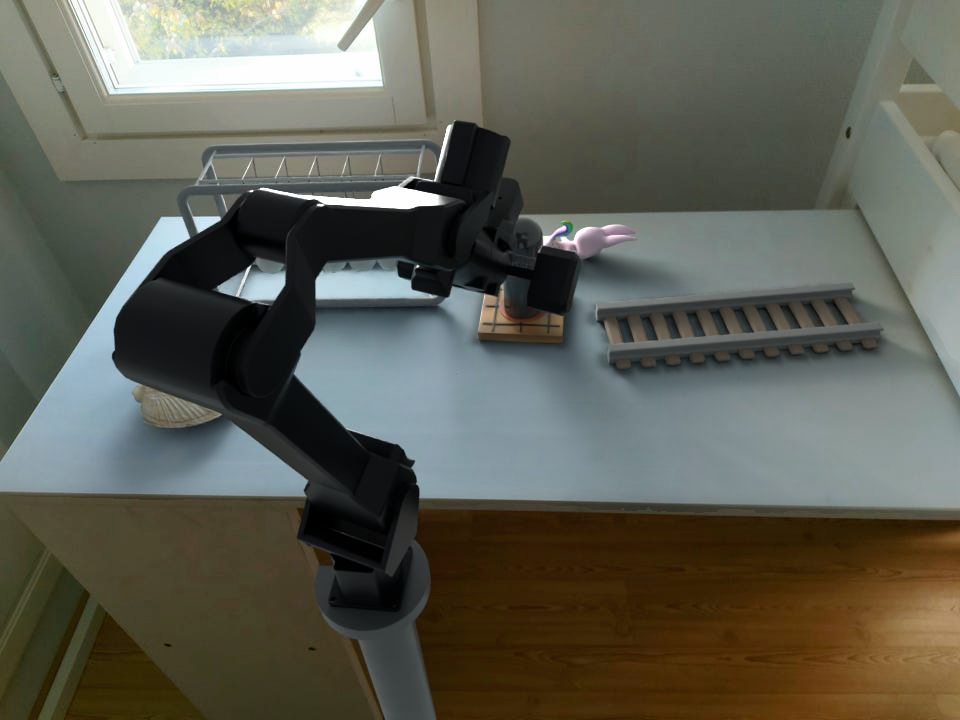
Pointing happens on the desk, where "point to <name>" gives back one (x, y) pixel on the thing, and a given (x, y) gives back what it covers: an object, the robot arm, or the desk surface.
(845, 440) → the desk surface
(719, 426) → the desk surface
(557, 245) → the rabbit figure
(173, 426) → the seashell
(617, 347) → the model train track
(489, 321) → the board
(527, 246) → the dark grey cylinder
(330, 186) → the newton's cradle
